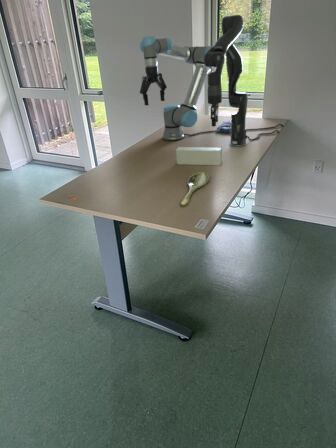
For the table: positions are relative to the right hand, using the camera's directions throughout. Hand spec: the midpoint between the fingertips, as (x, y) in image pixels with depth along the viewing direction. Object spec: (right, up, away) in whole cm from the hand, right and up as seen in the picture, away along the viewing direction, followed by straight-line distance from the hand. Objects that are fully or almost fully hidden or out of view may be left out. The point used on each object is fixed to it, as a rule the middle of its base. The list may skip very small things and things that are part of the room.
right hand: (214, 124), depth 187 cm
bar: (-7, -19, +15) cm, 25 cm away
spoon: (-13, -39, -16) cm, 44 cm away
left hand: (-35, +20, +23) cm, 47 cm away
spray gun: (+20, +16, +69) cm, 74 cm away
